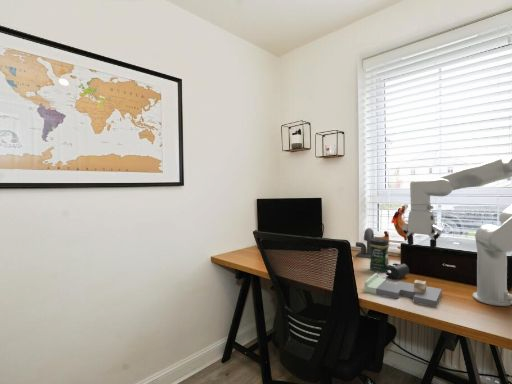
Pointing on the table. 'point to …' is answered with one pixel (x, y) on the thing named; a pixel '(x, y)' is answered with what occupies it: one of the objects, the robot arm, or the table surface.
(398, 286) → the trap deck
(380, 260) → the coffee jar
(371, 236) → the faucet
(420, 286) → the maple block
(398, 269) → the dark grey motor
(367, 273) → the table surface
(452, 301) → the table surface
